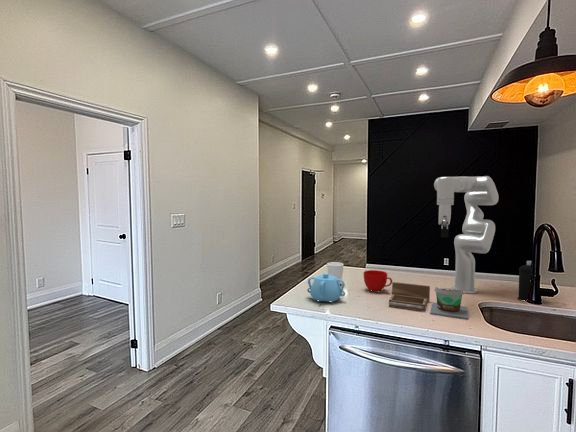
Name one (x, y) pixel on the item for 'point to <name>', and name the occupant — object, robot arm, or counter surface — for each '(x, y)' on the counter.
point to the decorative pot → (326, 288)
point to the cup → (335, 269)
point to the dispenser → (409, 296)
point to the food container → (449, 299)
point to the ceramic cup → (376, 280)
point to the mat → (461, 314)
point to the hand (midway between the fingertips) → (444, 236)
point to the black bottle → (524, 281)
